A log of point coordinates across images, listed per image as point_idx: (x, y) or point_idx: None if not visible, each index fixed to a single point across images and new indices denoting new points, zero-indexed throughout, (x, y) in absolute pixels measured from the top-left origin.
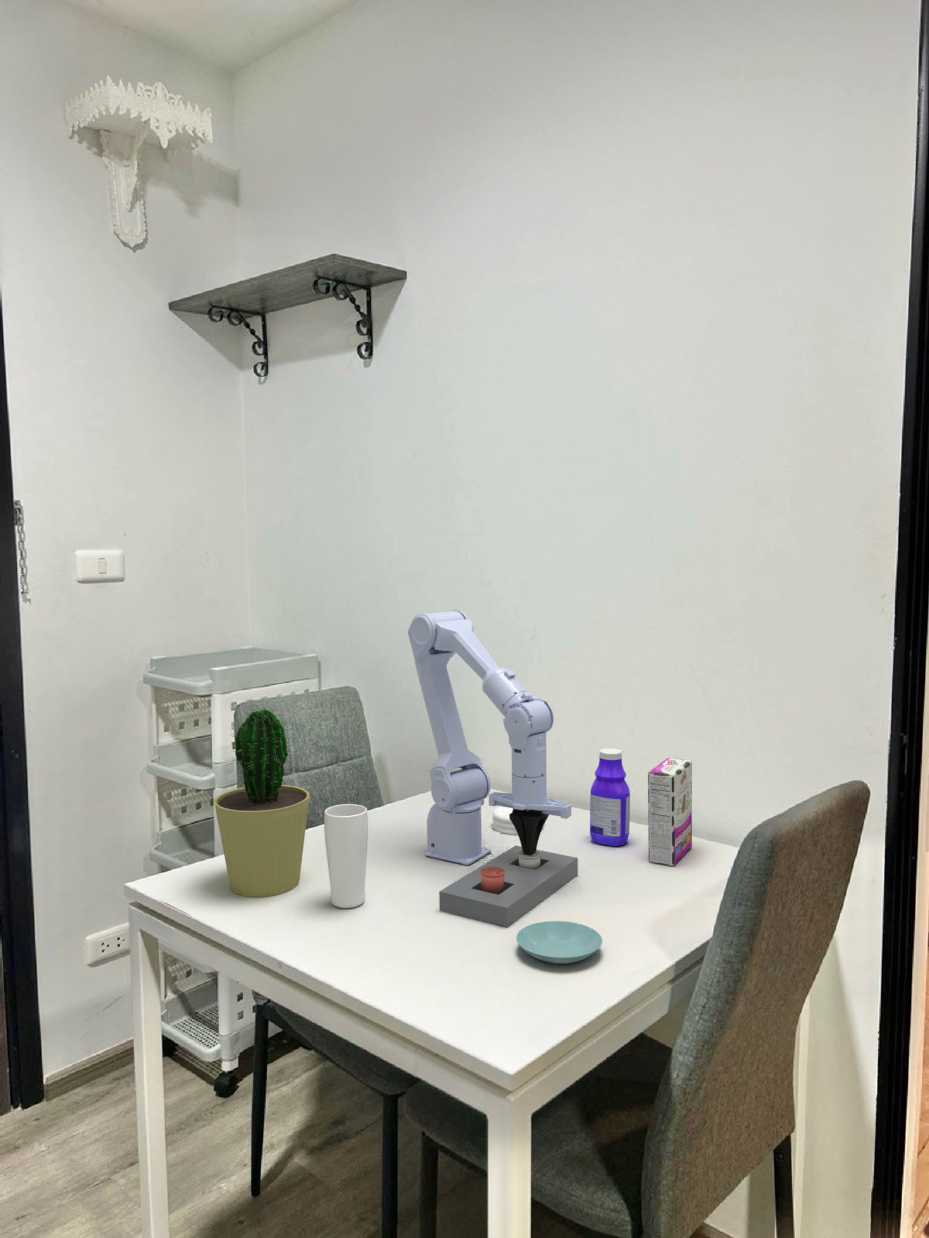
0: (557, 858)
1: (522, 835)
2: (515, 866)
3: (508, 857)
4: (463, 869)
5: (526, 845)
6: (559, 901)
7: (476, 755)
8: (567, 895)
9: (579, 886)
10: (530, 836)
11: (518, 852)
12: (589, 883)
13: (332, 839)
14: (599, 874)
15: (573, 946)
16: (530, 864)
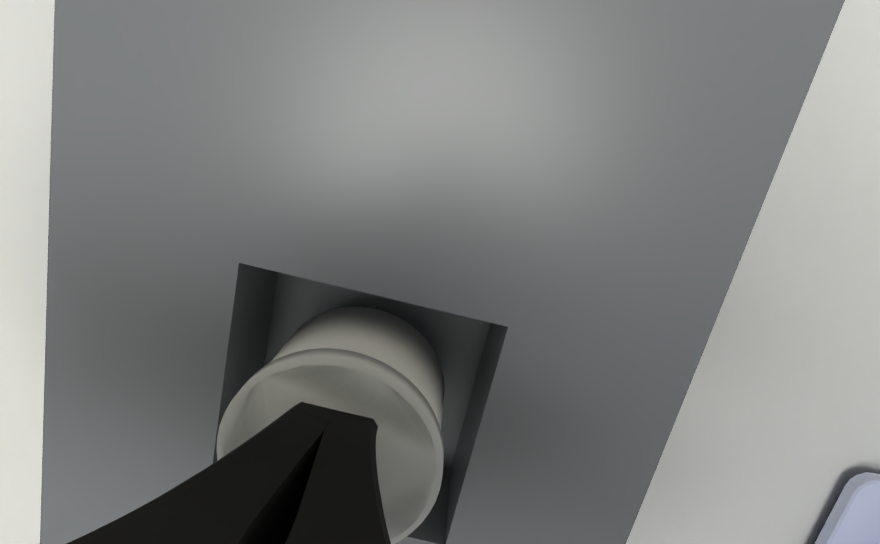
0: None
1: (308, 541)
2: (434, 287)
3: (552, 468)
4: (876, 402)
5: (294, 447)
6: (51, 34)
7: None
8: (47, 161)
9: (41, 330)
10: (156, 514)
11: (438, 452)
12: (7, 391)
13: None
14: (13, 529)
15: None
16: (307, 339)
